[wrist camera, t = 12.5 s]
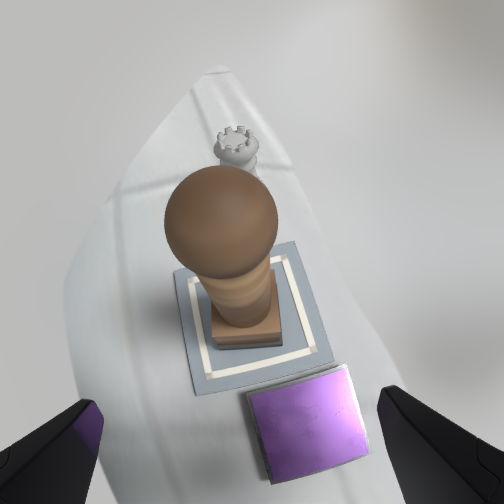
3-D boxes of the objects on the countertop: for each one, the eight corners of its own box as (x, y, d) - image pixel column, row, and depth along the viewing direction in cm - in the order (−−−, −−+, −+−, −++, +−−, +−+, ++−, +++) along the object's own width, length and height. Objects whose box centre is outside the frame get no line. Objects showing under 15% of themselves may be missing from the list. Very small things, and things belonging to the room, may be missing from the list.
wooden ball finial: (282, 346, 20) (300, 246, 7) (220, 350, 20) (128, 262, 7) (276, 288, 22) (279, 130, 9) (218, 293, 22) (150, 146, 9)
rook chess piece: (210, 213, 26) (190, 147, 19) (236, 179, 28) (225, 112, 21) (253, 233, 25) (245, 166, 18) (278, 196, 26) (278, 127, 19)
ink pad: (366, 450, 16) (373, 454, 14) (271, 479, 16) (270, 486, 14) (342, 365, 19) (347, 363, 18) (246, 392, 19) (244, 392, 17)
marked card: (333, 361, 19) (335, 360, 19) (197, 395, 19) (196, 395, 18) (293, 243, 24) (294, 240, 24) (175, 272, 23) (173, 270, 23)
